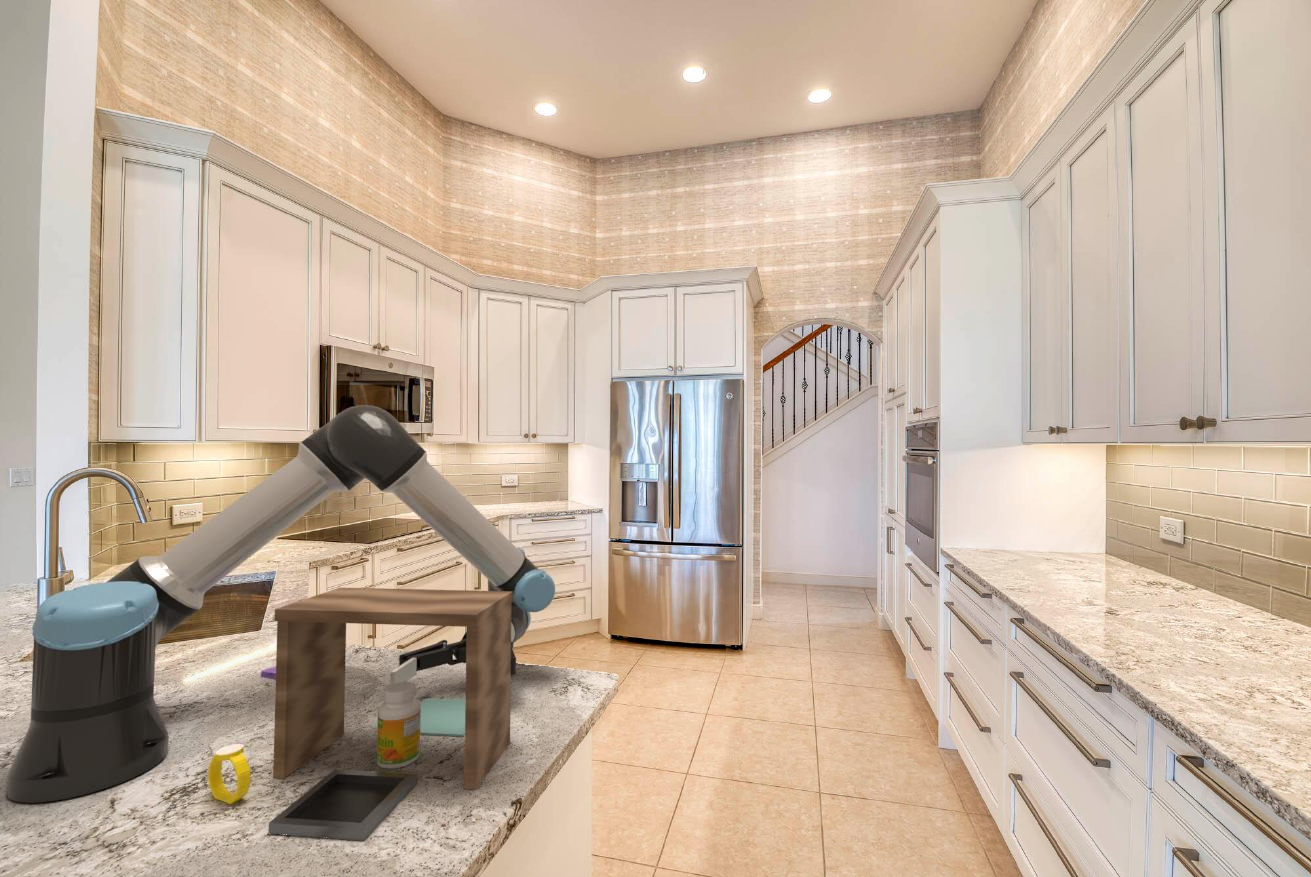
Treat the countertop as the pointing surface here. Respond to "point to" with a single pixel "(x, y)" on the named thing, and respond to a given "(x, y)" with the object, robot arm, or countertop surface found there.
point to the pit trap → (344, 805)
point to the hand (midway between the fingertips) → (434, 682)
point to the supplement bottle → (398, 726)
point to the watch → (241, 768)
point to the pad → (442, 717)
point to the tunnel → (319, 624)
